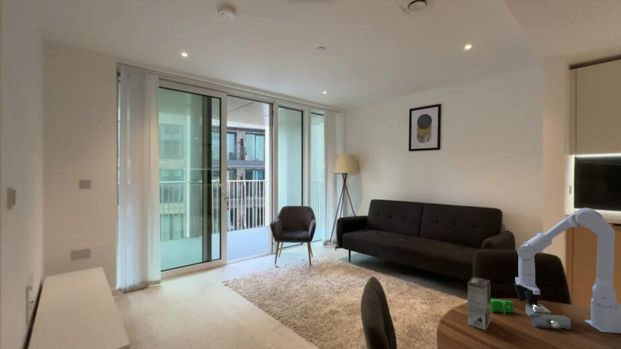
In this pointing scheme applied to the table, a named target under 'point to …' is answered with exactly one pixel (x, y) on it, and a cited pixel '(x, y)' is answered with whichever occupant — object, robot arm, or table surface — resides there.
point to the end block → (550, 321)
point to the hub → (537, 309)
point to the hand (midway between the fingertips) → (527, 304)
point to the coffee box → (479, 302)
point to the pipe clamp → (501, 305)
